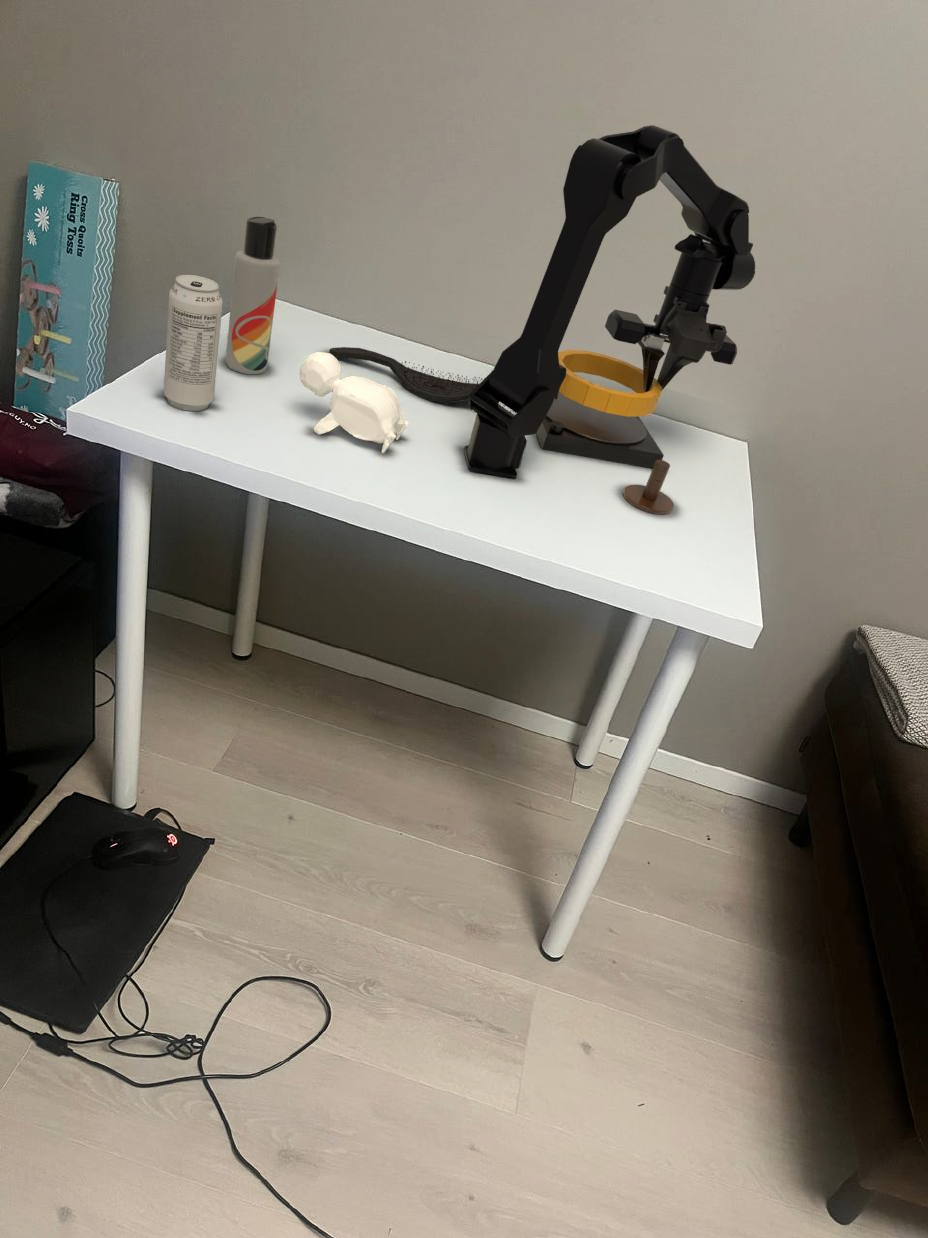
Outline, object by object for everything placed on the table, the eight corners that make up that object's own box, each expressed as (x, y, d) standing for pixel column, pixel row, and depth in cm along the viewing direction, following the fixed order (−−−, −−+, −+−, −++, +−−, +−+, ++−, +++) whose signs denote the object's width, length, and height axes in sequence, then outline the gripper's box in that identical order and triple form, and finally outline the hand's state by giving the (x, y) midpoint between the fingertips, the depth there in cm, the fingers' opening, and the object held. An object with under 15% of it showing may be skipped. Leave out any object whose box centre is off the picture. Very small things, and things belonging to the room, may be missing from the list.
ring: (560, 404, 126) (566, 383, 125) (538, 360, 139) (544, 341, 138) (668, 424, 130) (675, 405, 129) (637, 380, 143) (644, 362, 142)
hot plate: (542, 449, 129) (549, 427, 127) (521, 398, 144) (527, 378, 142) (658, 469, 134) (666, 448, 132) (626, 418, 148) (633, 398, 146)
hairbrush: (343, 329, 141) (494, 375, 137) (340, 352, 143) (489, 398, 139) (320, 342, 134) (478, 390, 130) (317, 366, 136) (473, 414, 132)
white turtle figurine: (390, 452, 123) (302, 380, 122) (423, 405, 119) (332, 330, 117) (366, 474, 116) (273, 398, 115) (401, 426, 112) (304, 346, 110)
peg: (630, 510, 120) (646, 471, 117) (617, 484, 126) (631, 446, 122) (678, 518, 122) (695, 479, 118) (663, 492, 127) (679, 455, 124)
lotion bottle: (262, 378, 125) (280, 228, 114) (220, 368, 125) (235, 216, 114) (270, 364, 130) (288, 218, 119) (230, 354, 129) (244, 207, 118)
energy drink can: (217, 398, 117) (228, 281, 109) (207, 416, 112) (218, 295, 104) (169, 387, 116) (176, 269, 108) (157, 406, 111) (164, 283, 103)
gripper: (644, 291, 119) (605, 403, 127) (771, 320, 123) (725, 426, 132) (622, 267, 127) (587, 373, 136) (741, 295, 132) (700, 395, 141)
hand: (650, 392), depth 136 cm, fingers closed on ring
